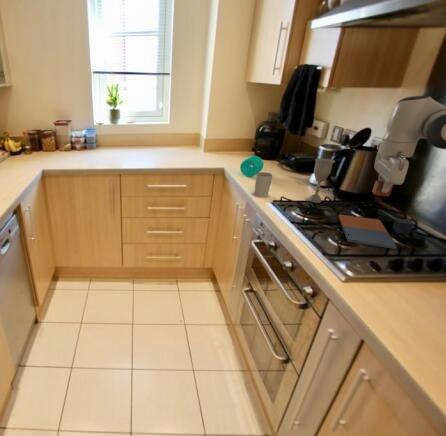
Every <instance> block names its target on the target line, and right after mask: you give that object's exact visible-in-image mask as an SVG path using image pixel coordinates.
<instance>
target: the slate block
mask: <svg viewBox="0 0 446 436" xmlns="http://www.w3.org/2000/svg"><path fill="white" fill-rule="evenodd" d="M413 227H414V222H412V221H411V219H405V218H399V217H398V218H397V217H395V220H394V222H393V225H392V228H391V229H392V230H393V232H394V233H396V234H402V235H411V233H412V231H413Z"/></svg>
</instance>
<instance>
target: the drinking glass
mask: <svg viewBox="0 0 446 436" xmlns="http://www.w3.org/2000/svg"><path fill="white" fill-rule="evenodd" d="M272 179H273V173H271V172H267V171H260V172H258V173H257V174H256V175H255V184H254V193H253V195H254V196H256V197H258V198H267V197H268V196H269V191H270V186H271V183H272Z"/></svg>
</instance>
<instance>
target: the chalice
mask: <svg viewBox="0 0 446 436" xmlns="http://www.w3.org/2000/svg"><path fill="white" fill-rule="evenodd" d="M314 161H315V165H314V168H313V175H314V178H315V181H316V182H317V184H316V188H315V189H314V190H315V193H314V194H311V195H310V196H309V198H308V201H309V202H312V203H316V204H317V203H319V204H320V203H322V198H321V195H320V194H319V192H320V191H321V190H320V187H321V183H322V182H325V180H326V179H327V178H328V177H329V176H330V174H331V173H332V170H333V169H332V168H333V165H334V164H335V162H336V161H335V159H330V158H319V157H318V158H315V159H314Z"/></svg>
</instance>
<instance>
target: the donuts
mask: <svg viewBox="0 0 446 436" xmlns="http://www.w3.org/2000/svg"><path fill="white" fill-rule="evenodd" d="M239 167H240V168H239V169H240V170H239V171H240V172H241V174H243V176H245V177H250V178H251V177H254V176H256V174H257V173H259V172H262V171H263V169H264V160H263V159H262V158H261V157H260V156H257V155H251V156H249V157H247V158H245V159H243V160H242V162H241V163H240V166H239Z"/></svg>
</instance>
